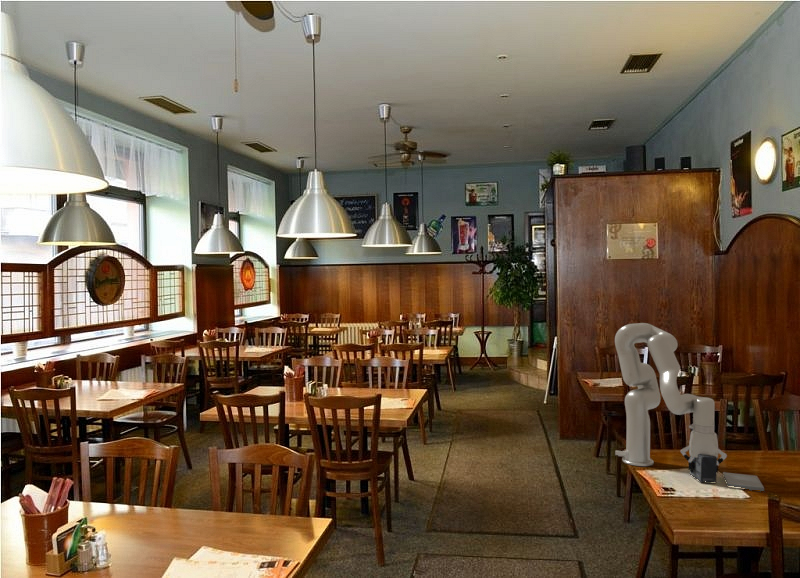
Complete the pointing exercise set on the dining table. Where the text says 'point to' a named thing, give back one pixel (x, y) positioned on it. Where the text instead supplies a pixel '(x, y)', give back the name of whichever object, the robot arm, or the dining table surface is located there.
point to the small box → (704, 468)
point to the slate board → (743, 481)
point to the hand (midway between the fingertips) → (703, 472)
